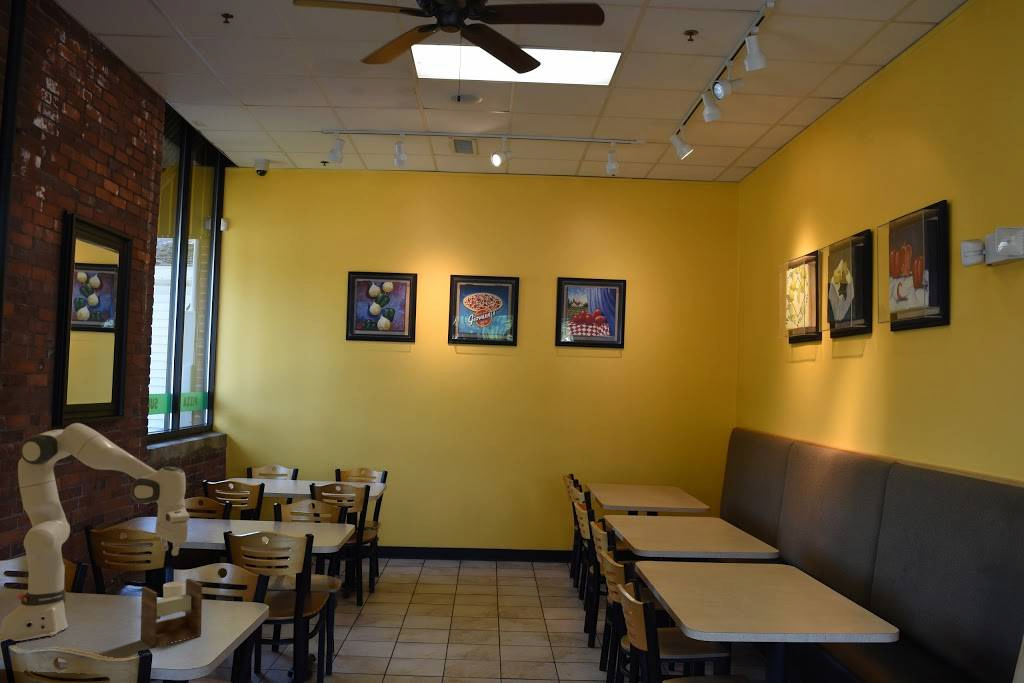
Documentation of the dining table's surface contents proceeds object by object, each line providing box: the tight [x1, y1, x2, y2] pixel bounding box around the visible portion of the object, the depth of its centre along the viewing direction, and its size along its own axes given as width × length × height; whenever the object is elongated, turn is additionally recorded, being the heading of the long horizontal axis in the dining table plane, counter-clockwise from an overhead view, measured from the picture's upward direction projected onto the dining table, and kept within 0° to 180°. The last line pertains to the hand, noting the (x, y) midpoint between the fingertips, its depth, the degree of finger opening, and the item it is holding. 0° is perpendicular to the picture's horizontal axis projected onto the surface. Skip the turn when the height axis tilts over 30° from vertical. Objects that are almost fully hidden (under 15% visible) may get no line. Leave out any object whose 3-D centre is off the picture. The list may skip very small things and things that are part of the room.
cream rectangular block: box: [157, 593, 191, 617], centre depth 263 cm, size 12×4×4 cm, turn 135°
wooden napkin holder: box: [140, 578, 203, 649], centre depth 263 cm, size 16×11×18 cm
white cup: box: [162, 580, 186, 599], centre depth 294 cm, size 8×8×10 cm
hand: (169, 552), depth 266 cm, fingers open, 8 cm apart
